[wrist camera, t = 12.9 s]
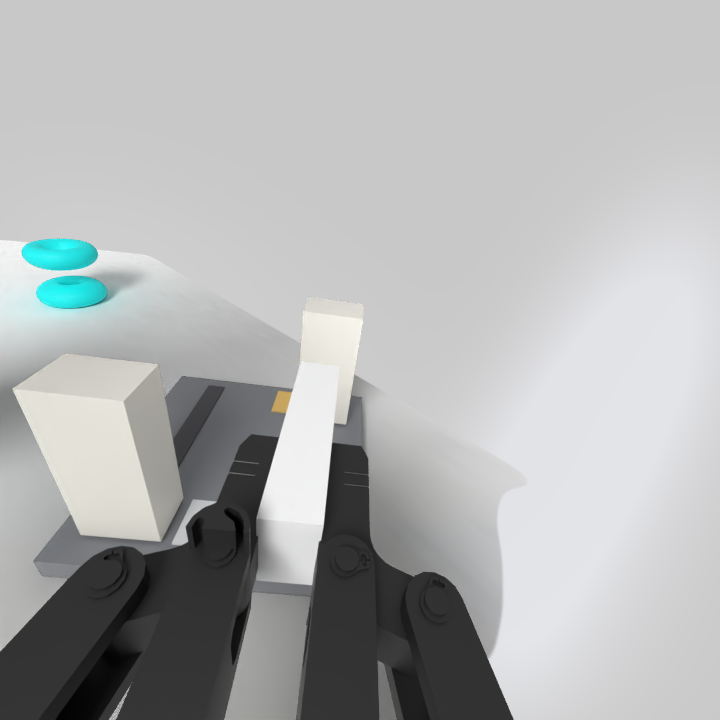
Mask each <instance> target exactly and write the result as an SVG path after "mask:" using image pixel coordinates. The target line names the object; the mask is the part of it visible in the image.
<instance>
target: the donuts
mask: <svg viewBox="0 0 720 720" xmlns="http://www.w3.org/2000/svg"><path fill="white" fill-rule="evenodd" d="M22 256H23V258H24V259H25V260H26V261H27V262H28V263H30V264H32V265H34V266H36V267H39V268H43V269H48V270H75V269H80V268H84V267H87V266H89V265H91V264H93V263H94V262H95V261H96V259H97V257H98V252H97V250H96V248H95V247H94V246H92V245H91V244H89V243H87V242H84V241H80V240H73V239H46V240H38V241H34V242H31V243H28V244H26V245H25V246H24V247H23V249H22ZM36 294H37V297H38V299H39V300H40V301H41V302H42V303H44V304H46V305H48V306H52V307H57V308H79V307H85V306H90V305H93V304H96V303H98V302H100V301H102V300H103V299H104V298H105V297H106V295H107V289H106V287H105V285H104V284H103V283H101V282H100V281H98V280H96V279H94V278H90V277H85V276H62V277H57V278H53V279H50V280H47V281H45V282H43V283H42V284H41V285H40V286H39V287H38V289H37V291H36Z"/></svg>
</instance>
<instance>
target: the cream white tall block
mask: <svg viewBox="0 0 720 720" xmlns="http://www.w3.org/2000/svg"><path fill="white" fill-rule="evenodd" d="M362 324H363V304H357V303H350V302H342V301H335V300H327V299H320V298H314V297H308V300H307V302H306V305H305V308H304V311H303V323H302V338H301V353H300V363H301V361H303V362H311V363H318V364H325V365H333V366H340V367H339V377H338V387H337V397H336V407H335V417H334V423H336V424H345V425H346V422H347V416H348V410H349V404H350V398H351V391H352V385H353V379H354V373H355V367H356V361H357V355H358V349H359V343H360V342H359V341H360V337H361V330H362Z"/></svg>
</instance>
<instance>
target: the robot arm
mask: <svg viewBox="0 0 720 720" xmlns="http://www.w3.org/2000/svg"><path fill="white" fill-rule="evenodd" d="M339 367H340V366H333V365H325V364H318V363H311V362H303V361H301V363H300V366H299V370H298V373H297V377H296V380H295V384H294V387H293V391H292V394H291V398H290V401H289V405H288V409H287V412H286V416H285V419H284V423H283V426H282V430H281V433H280V437H272V436H264V435H255V434H251V435H250V436H249V437H248V438H247V439H246V440H245V441H244V442H243V443H242V444H241V445H240V446H239V448H238V451H237V453H236V456H235V458H234V462H233V463H232V465H231V468H230V470H229V474H228V475H227V478H226V480H225V482H224V485H223V487H222V490H221V492H220V495H219V497H218V500H217V502H216V503H214V504H212V505H209V506H206V507H204V508H202V509H201V510H200V511H199V512H197V513H196V514H195V515H193V516H192V518H191V519H190V521H189V522H188V524H187V525H186V532H187V538H188V542H187V543H185V544H183V545H181V546H178V547H175V548H172V549H167V550H163V551H159V552H154V553H150V554H145V555H143V554H142V553H141V552H140V551H138V550H137V549H135V548H134V547H128V546H118V547H113V548H108V549H106V550H104V551H102V552H100V553H98V554H96V555H94V556H92V557H91V558H90V559H89V560H88V561H86V562H85V563H84V564H83V565H82V566H80V567H79V568H78V569H77V570H76V572H75V573H74V574H73V575H72V576H71V577H70V578H69V579H68V580H67V581H66V582H65V583H64V584H63V585H62V586H61V588H60V589H59V590H58V591H57V592H56V593H55V594H54V595H53V596H52V597H51V598H50V599H49V600H48V601H47V603H46V604H45V605H44V606H43V607H42V608H41V609H40V610H39V611H38V612H37V613H36V614H35V615H34V616H33V617H32V619H31V620H30V621H29V622H28V623H27V624H26V625H25V626H24V627H23V628H22V629H21V630H20V631H19V632H18V634H17V635H16V636H15V637H14V638H13V639H12V640H11V641H10V642H9V643H8V644H7V645H6V646H5V647H4V648H3V650H2V651H1V652H0V720H109V718H110V717H111V715H112V714H113V712H114V710H115V709H116V707H117V706H118V704H119V702H120V701H121V699H122V698H123V696H124V694H125V693H126V691H127V690H128V688H129V686H130V685H131V686H130V689H129V691H128V694H127V696H126V698H125V701H124V703H123V705H122V708H121V710H120V712H119V715H118V717H117V719H116V720H224V718H225V714H226V709H227V705H228V701H229V697H230V693H231V688H232V684H233V680H234V676H235V672H236V667H237V663H238V659H239V655H240V651H241V646H242V642H243V638H244V634H245V630H246V626H247V621H248V617H249V613H250V609H251V594H252V590H253V586H254V582H255V578H256V581H268V582H280V583H292V584H304V585H312V592H311V601H310V607H309V613H308V618H307V624H306V625H307V630H306V639H305V647H304V656H303V664H302V673H301V682H300V690H299V699H298V707H297V716H296V720H379V698H378V664H377V660H379V661H380V662H382V663H384V664H385V668H386V673H387V677H388V682H389V686H390V691H391V695H392V699H393V704H394V708H395V713H396V717H397V720H513V717H512V715H511V713H510V710H509V708H508V705H507V703H506V701H505V698H504V696H503V694H502V691H501V689H500V687H499V684H498V682H497V679H496V677H495V675H494V672H493V670H492V668H491V665H490V663H489V661H488V658H487V656H486V653H485V651H484V649H483V646H482V644H481V642H480V639H479V637H478V635H477V632H476V630H475V628H474V625H473V623H472V620H471V618H470V616H469V613H468V611H467V609H466V606H465V604H464V602H463V599H462V597H461V596H460V594H459V592H458V591H457V589H456V587H455V586H454V585H453V584H452V583H451V582H450V581H449V580H448V579H446V578H445V577H443V576H441V575H439V574H437V573H435V572H423V573H420V574H418V575H416V576H414V577H413V576H411V575H409V574H406V573H404V572H402V571H400V570H398V569H396V568H393V567H392V566H390V565H388V564H387V563H385V562H384V561H383V560H382V559H381V558H380V557H379V556H378V554H377V553H376V551H375V550H374V548H373V545H372V543H371V539H370V523H369V488H368V487H369V476H368V458H367V456H366V454H365V452H364V450H363V448H362V446H357V445H348V444H340V443H332V437H333V427H334V417H335V407H336V397H337V387H338V377H339ZM131 683H132V684H131Z"/></svg>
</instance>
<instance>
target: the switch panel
mask: <svg viewBox="0 0 720 720" xmlns="http://www.w3.org/2000/svg"><path fill="white" fill-rule="evenodd" d="M292 391H293V389H287V388H279V387H270V386H262V385H254V384H245V383H237V382H228V381H220V380H211V379H203V378H194V377H186V376H182V377H181V378H180V380H179V381H178V382H177V383H176V385H175V386H174V387H173V388H172V390H171V391H170V392H169V393H168V395H167V396H166V397H165V400H166V406H167V411H168V417H169V422H170V427H171V433H172V438H173V443H174V449H175V454H176V459H177V465H178V470H179V476H180V481H181V486H182V492H183V497H184V498H183V500H182V502H181V504H180V506H179V508H178V510H177V512H176V513H175V515H174V517H173V519H172V521H171V523H170V525H169V527H168V529H167V531H166V533H165V535H164V537H163V539H162V541H161V542H158V541H146V540H134V539H123V538H111V537H99V536H87V535H80V533H79V531H78V528H77V526H76V524H75V522H74V520H73V518H72V516H71V515H70V516H69V517H68V519H67V520H66V521H65V522H64V524H63V525H62V526H61V527H60V529H59V530H58V531H57V532H56V534H55V535H54V536H53V537H52V539H51V540H50V541H49V542H48V544H47V545H46V546H45V547H44V548H43V550H42V551H41V552H40V553H39V555H38V556H37V557H36V558H35V560H34V561H33V562H34V564H35V565H36V567H37V569H38V570H39V572H40V573H41V575H42V576H48V577H62V578H70V577H71V576H72V575H73V574H74V573H75V572H76V570H77V569H78V568H79V567H80V566H82V565H83V564H84V563H85V562H86V561H88V560H89V559H90V558H91V557H92V556H94V555H96V554H98V553H100V552H102V551H104V550H106V549H108V548H113V547H118V546H128V547H134V548H135V549H137V550H138V551H140V552H141V553H142V554H143V555H145V554H150V553H154V552H159V551H163V550H167V549H172V548H175V547H178V546H181V545H183V544H185V543H187V542H188V538H187V532H186V525H187V524H188V522H189V521H190V519H191V518H192V516H193V515H195V514H196V513H197V512H199V511H200V510H201V509H202V508H204V507H206V506H209V505H212V504H214V503H216V502H217V500H218V497H219V495H220V492H221V490H222V487H223V485H224V482H225V480H226V478H227V475H228V474H229V470H230V468H231V465H232V463H233V462H234V458H235V456H236V453H237V451H238V448H239V446H240V445H241V444H242V443H243V442H244V441H245V440H246V439H247V438H248V437H249V436H250V435H251V434H255V435H264V436H272V437H280V433H281V430H282V426H283V423H284V419H285V416H286V412H287V409H288V405H289V401H290V398H291V394H292ZM332 443H340V444H348V445H357V446H362V397H355V396H351V398H350V404H349V410H348V416H347V422H346V425H345V424H336V423H334V427H333V437H332ZM252 592H261V593H275V594H288V595H301V596H311V592H312V585H304V584H292V583H280V582H268V581H256V578H255V582H254V586H253V590H252Z"/></svg>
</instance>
